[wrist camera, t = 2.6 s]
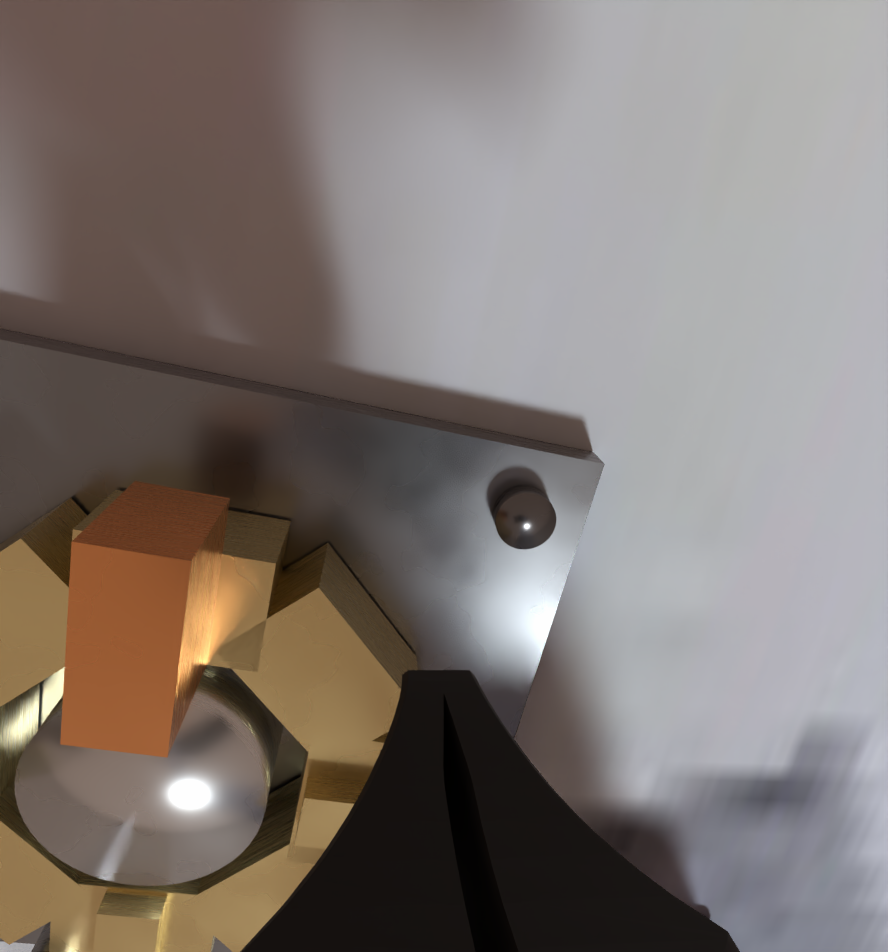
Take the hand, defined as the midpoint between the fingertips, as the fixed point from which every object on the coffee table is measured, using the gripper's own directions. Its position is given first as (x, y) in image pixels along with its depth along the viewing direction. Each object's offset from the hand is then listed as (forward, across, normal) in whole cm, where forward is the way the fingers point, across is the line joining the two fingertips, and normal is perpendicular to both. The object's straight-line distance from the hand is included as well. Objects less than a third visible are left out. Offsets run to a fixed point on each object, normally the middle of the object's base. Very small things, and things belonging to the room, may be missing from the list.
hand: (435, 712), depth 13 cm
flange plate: (+7, +7, +5) cm, 11 cm away
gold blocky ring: (+5, +7, +4) cm, 10 cm away
